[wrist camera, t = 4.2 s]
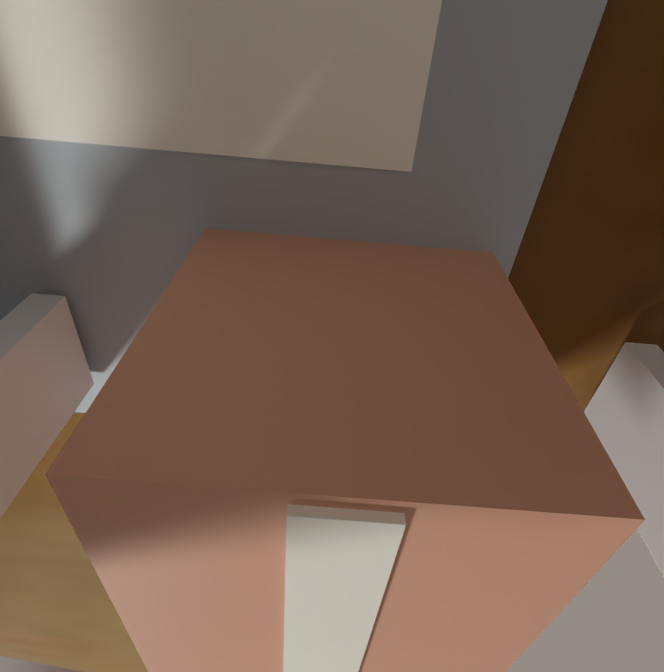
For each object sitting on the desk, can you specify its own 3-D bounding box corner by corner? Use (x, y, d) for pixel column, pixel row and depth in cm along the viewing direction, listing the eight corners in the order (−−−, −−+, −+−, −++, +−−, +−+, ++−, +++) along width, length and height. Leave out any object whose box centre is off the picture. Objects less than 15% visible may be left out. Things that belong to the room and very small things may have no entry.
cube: (206, 227, 9) (38, 485, 4) (492, 252, 9) (652, 532, 4) (226, 426, 13) (149, 688, 8) (431, 442, 13) (480, 710, 8)
